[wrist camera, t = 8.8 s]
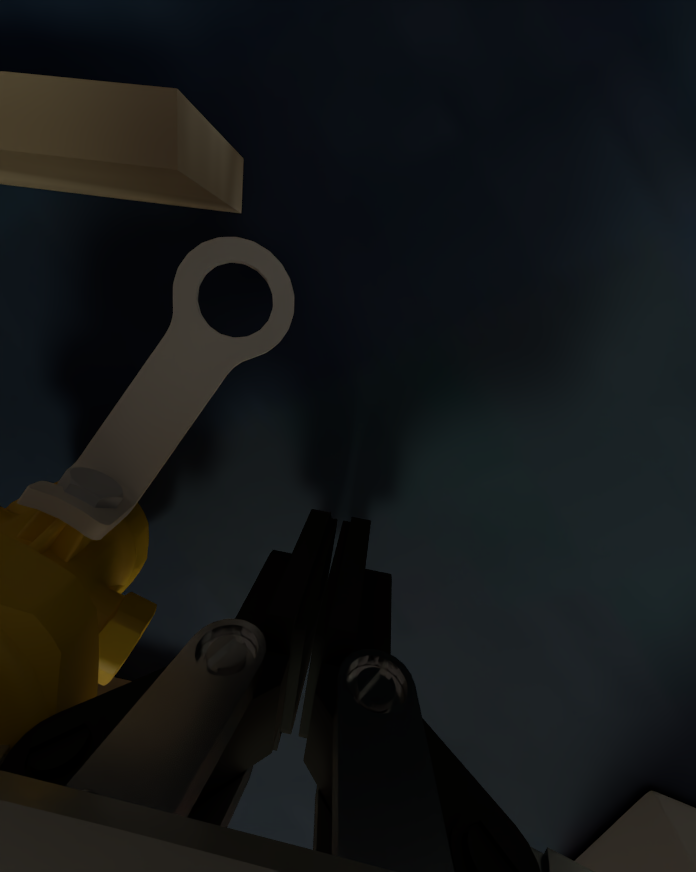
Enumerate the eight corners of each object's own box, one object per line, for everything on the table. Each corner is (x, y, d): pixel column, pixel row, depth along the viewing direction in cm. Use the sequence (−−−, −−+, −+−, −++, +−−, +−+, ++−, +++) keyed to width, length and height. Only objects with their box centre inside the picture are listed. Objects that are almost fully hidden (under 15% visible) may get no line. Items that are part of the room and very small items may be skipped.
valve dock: (-129, 117, 10) (-334, 38, 7) (243, 158, 9) (177, 88, 7) (-13, 670, 16) (-101, 746, 13) (220, 722, 15) (180, 815, 12)
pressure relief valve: (-27, 542, 12) (-1508, 1333, 2) (195, 223, 12) (-248, -608, 2) (137, 622, 13) (-283, 1348, 3) (340, 335, 13) (535, 197, 3)
